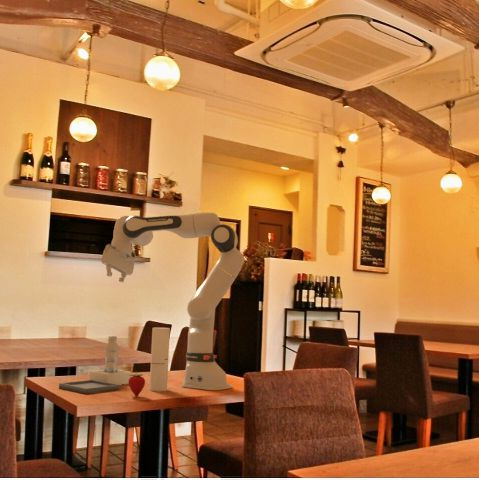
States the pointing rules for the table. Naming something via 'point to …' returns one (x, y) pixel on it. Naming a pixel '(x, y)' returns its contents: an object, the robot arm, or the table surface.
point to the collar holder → (111, 376)
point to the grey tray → (89, 386)
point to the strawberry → (136, 383)
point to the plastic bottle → (111, 355)
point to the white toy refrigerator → (159, 359)
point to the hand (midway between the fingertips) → (115, 279)
